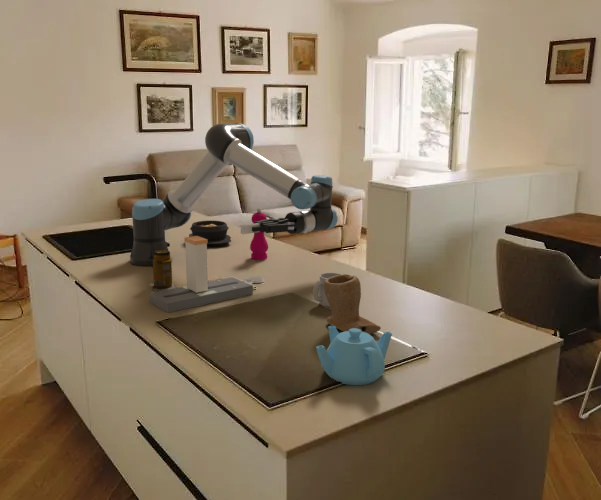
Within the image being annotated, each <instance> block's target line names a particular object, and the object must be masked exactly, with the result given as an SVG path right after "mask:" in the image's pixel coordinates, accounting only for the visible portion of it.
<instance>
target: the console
mask: <svg viewBox="0 0 601 500" xmlns="http://www.w3.org/2000/svg"><path fill="white" fill-rule="evenodd" d="M253 293H254V288H253V285H252V284H249V283H247V282H245V281H243V280H240V279H238V278H236V277H234V276H231V277H227V278H226V277H225V278H221V279H217V280H215V279H214V280H210V281H208V290H207V291H202V292H197V293H196V292H194V291H192V290H190V289H188V288H187V285H185V286H181V287H175V288H174V289H169V290H160V291H153V292H150V293H149V302H150V303H151V304H153V305H155V306H156V307H158V308H159V309H161V310H163V311H165V312H166V313H172V312H176V311H182V310H185V309H189V308H194V307H199V306H204V305H209V304H213V303H216V302H222V301H226V300H231V299H235V298H240V297H245V296H249V295H253Z"/></svg>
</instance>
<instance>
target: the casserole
mask: <svg viewBox="0 0 601 500" xmlns="http://www.w3.org/2000/svg"><path fill="white" fill-rule="evenodd" d="M229 229H230V228H229V226H228V224H227V223H226V222H224V221H220V220H200V221H195V222H193V223H192V224H191V227H190V228H189V230H190V231H191V233H189V234H188V237H192V236H199V237H202V238H205V239H208V243H207V246H208V245H210V246H211V245H222V244H227V243H228V244H229V243H231V242H232V240H231V238H232V237H231V236H230V235H229V234H228V230H229Z"/></svg>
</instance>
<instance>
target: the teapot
mask: <svg viewBox="0 0 601 500" xmlns="http://www.w3.org/2000/svg"><path fill="white" fill-rule="evenodd" d="M327 329H328V335H329V340H330V341H329V342H330V343H329V345H328V347H327V348H326V347H325V345H322V344H321V345H317V346H315V349H316V352H317V355H318V359H319V362H320V365H321V369H323V370H324V371H325V373H326V374H327V375H328V376H329V378H330V379H332V378H333V379H335V380H338V381H340V382H342V383H344V384H343V385H347V386H365V385H369V384H372V383H374V382H376V381H377V380H378V379H379V378H380V377H381V376H382V375H383V374H384V372H385V368H386V367H385V358H386V355H387V351H388V349H389V346H390V342H391V338H392V336H393V333H392V332H391V331H384V332H383V334H382V335H381V336H380V338H379V340H378V341H376V340H375V338H374V336H372V334H371V335H370V334H368V333H365V332H361V330H360V329H357V328H352V329H349V331H345V332H343V331H340V332H339V331H338V329H337V328H336V327H335V326H332V325H329V326H328V327H327ZM333 379H332V380H333ZM335 380H334V381H335ZM342 383H341V384H342Z"/></svg>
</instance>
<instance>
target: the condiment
mask: <svg viewBox="0 0 601 500" xmlns="http://www.w3.org/2000/svg"><path fill="white" fill-rule="evenodd" d="M172 270H173V269H172V259H171V252H170V251H169V249H168V250H157V251H155V252H154V259H153V266H152V274H153V275H152V278H153V283H152V282H151V283H150V286H151V288H152V290H153V292H158V291H164V290H169V289H174V288H176V286H175V285H174V283H173V271H172Z"/></svg>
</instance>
